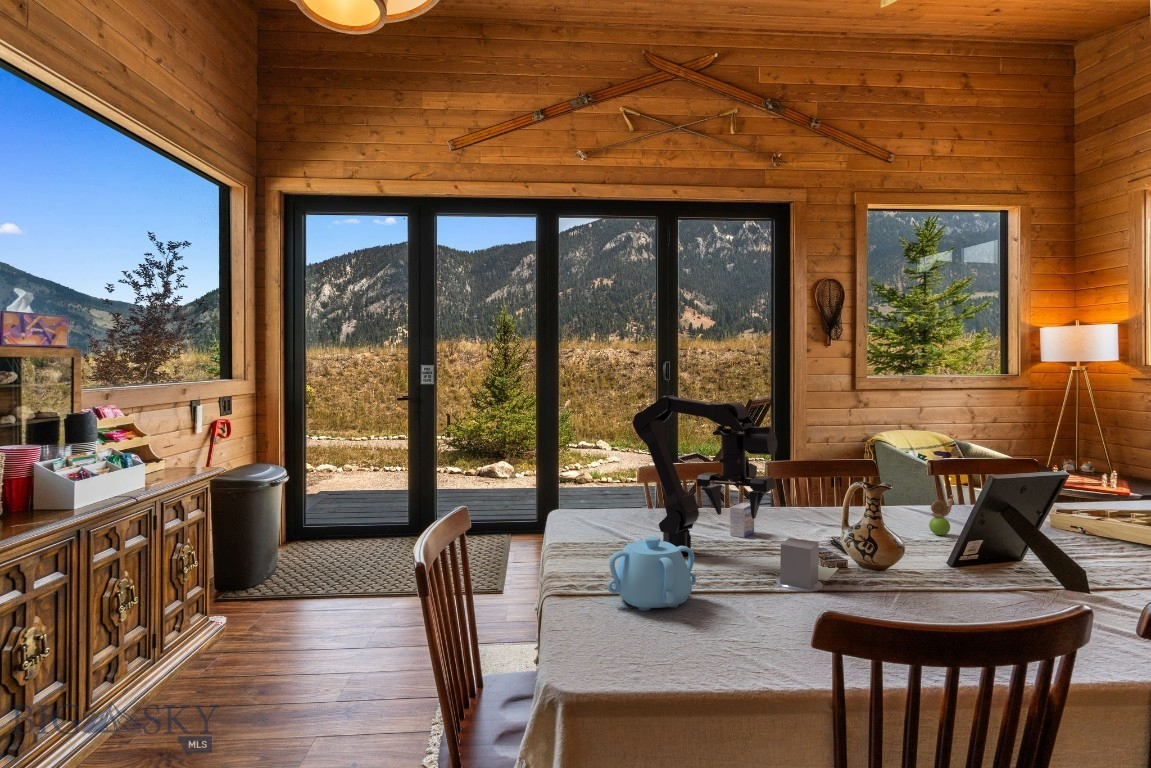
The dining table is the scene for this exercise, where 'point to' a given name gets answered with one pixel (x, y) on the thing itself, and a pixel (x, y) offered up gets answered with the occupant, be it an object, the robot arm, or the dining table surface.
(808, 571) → the grey block
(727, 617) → the dining table surface
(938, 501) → the snail figurine
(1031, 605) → the dining table surface
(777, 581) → the knob on round base
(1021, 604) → the dining table surface
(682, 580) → the decorative pot
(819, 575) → the mat
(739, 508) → the medicine box
